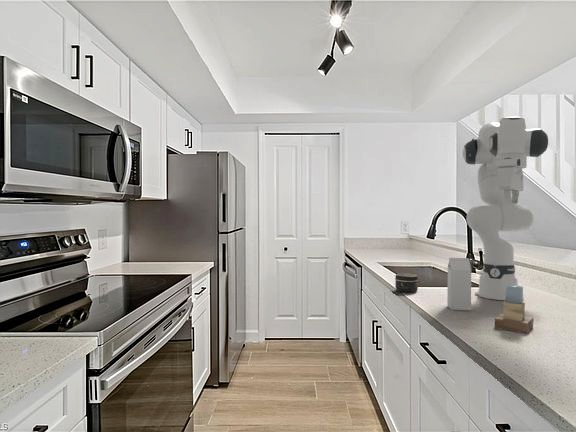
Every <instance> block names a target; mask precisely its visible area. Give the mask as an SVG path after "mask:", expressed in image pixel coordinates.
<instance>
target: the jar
mask: <svg viewBox="0 0 576 432" xmlns="http://www.w3.org/2000/svg"><path fill="white" fill-rule="evenodd" d="M394 277H395V278H394V279H395V285H394V287H395V290H396V292H397V293H401V294H416V293H417V292H418V288H419V275H418V274H413V273H395V276H394Z"/></svg>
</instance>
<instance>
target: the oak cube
mask: <svg viewBox="0 0 576 432" xmlns="http://www.w3.org/2000/svg"><path fill="white" fill-rule="evenodd" d="M502 305H503V306H502V308H503V309H502V310H503V311H502V312H503V318H504V319H511V320H518V321H522V320H523V319H524V318H525V317H526V315H525V314H526V313H525V312H526V302H525V301H523V303H522V304H513V303H508V302H505V301H503V304H502Z"/></svg>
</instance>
